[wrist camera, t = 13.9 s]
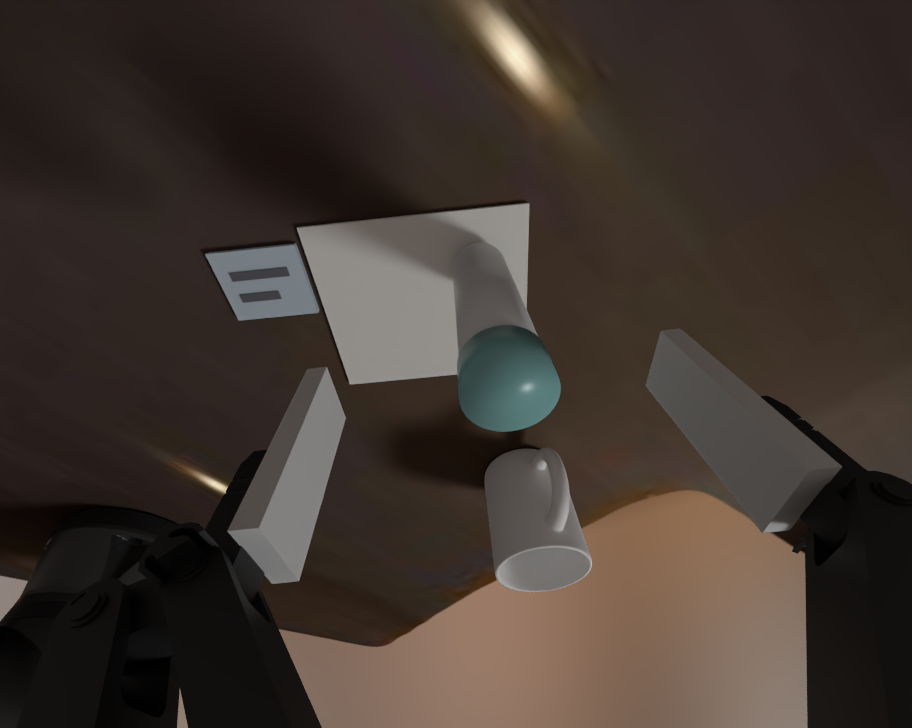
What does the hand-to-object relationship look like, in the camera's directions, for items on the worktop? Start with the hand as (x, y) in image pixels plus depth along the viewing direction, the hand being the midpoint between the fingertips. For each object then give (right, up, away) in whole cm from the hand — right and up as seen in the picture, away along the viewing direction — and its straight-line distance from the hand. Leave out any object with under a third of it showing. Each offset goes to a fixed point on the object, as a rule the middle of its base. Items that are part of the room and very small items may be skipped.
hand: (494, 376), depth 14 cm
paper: (-4, +5, +12) cm, 14 cm away
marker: (0, +7, +10) cm, 13 cm away
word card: (-15, +6, +11) cm, 20 cm away
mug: (+6, -10, +23) cm, 26 cm away
